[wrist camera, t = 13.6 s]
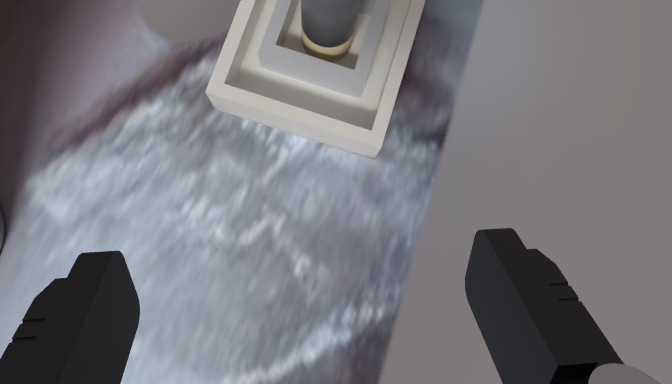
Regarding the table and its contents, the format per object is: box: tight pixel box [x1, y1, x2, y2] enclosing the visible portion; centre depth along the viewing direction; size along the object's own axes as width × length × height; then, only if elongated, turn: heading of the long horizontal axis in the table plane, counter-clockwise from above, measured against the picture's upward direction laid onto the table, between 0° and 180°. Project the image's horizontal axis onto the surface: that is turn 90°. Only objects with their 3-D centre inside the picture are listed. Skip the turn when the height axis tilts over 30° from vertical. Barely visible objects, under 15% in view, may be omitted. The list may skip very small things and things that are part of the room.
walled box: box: [206, 0, 426, 160], centre depth 36 cm, size 13×16×4 cm
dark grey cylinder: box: [301, 0, 361, 63], centre depth 32 cm, size 4×4×10 cm
